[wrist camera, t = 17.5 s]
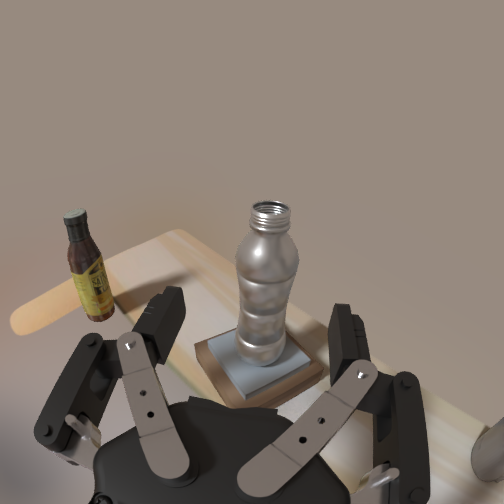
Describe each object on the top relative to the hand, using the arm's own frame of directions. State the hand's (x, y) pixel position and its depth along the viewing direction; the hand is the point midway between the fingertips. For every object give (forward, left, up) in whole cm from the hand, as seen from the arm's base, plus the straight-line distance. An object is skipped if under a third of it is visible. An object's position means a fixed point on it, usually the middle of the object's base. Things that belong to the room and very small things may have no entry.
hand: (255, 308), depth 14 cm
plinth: (+10, -8, -24) cm, 28 cm away
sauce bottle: (+34, +11, -25) cm, 43 cm away
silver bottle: (+10, -8, -20) cm, 23 cm away
